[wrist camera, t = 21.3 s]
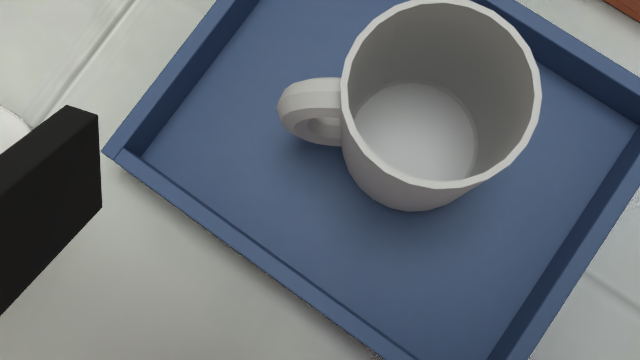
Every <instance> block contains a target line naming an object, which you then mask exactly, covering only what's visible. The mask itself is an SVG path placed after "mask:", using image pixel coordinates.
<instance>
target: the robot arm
mask: <svg viewBox="0 0 640 360" xmlns="http://www.w3.org/2000/svg"><path fill="white" fill-rule="evenodd" d="M101 208H102V193H101V172H100V150H99V129H98V115H96V114H93V113H90V112H87V111H84V110H81V109H78V108H75V107H72V106H69V105H66V106H64V107H63V108H62V109H60V110H59V111H58V112H56V113H55V114H54V115H52V116H51V117H50V118H48V119H47V120H46V121H44V122H43V123H42V124H40V125H39V126H37V127H36V128H35V129H33V130H32V131H31V132H29V133H28V134H27V135H25V136H24V137H23V138H21V139H20V140H19V141H17V142H16V143H15V144H13V145H12V146H11V147H9V148H8V149H7V150H5V151H4V152H3V153H1V154H0V316H1V315H2V314H3V313H4V312H5V311H6V309H7V308H8V307H9V306H10V305H11V304H12V303H13V302H14V301H15V300H16V299H17V298H18V297H19V296H20V294H21V293H22V292H23V291H24V290H25V289H26V288H27V287H28V286H29V285H30V284H31V283H32V282H33V281H34V280H35V278H36V277H37V276H38V275H39V274H40V273H41V272H42V271H43V270H44V269H45V268H46V267H47V266H48V265H49V263H50V262H51V261H52V260H53V259H54V258H55V257H56V256H57V255H58V254H59V253H60V252H61V251H62V250H63V249H64V247H65V246H66V245H67V244H68V243H69V242H70V241H71V240H72V239H73V238H74V237H75V236H76V235H77V234H78V232H79V231H80V230H81V229H82V228H83V227H84V226H85V225H86V224H87V223H88V222H89V221H90V220H91V219H92V218H93V216H94V215H95V214H96V213H97V212H98V211H99V210H100V209H101Z"/></svg>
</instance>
